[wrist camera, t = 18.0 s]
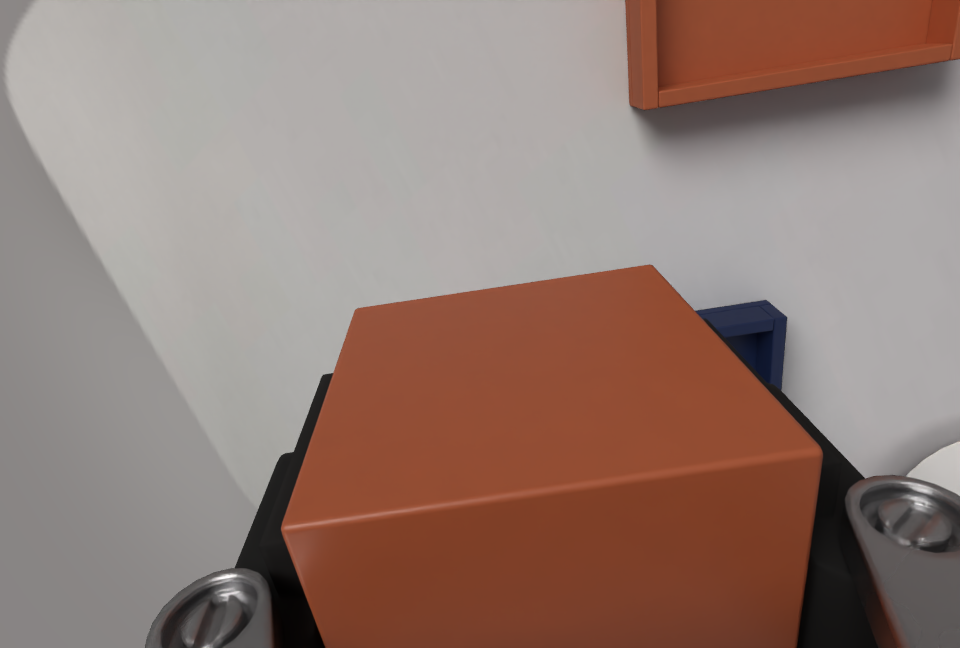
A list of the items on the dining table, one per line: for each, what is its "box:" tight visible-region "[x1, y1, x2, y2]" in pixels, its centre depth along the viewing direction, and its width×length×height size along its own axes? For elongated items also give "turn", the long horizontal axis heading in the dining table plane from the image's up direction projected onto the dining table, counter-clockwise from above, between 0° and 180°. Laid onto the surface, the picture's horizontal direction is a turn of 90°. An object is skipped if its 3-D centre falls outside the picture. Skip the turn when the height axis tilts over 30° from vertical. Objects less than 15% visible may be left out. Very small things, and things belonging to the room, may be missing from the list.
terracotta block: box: [281, 265, 823, 648], centre depth 9 cm, size 5×5×5 cm
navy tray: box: [695, 300, 787, 390], centre depth 30 cm, size 12×12×2 cm
